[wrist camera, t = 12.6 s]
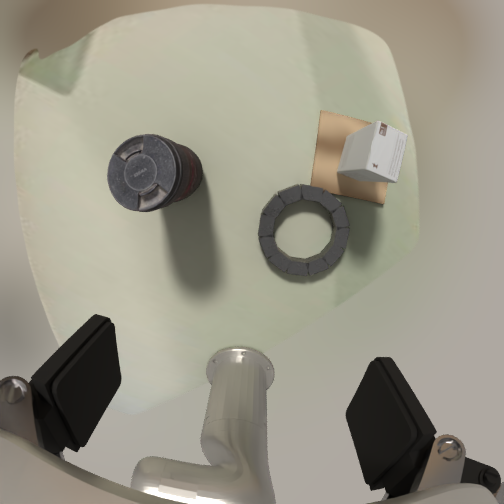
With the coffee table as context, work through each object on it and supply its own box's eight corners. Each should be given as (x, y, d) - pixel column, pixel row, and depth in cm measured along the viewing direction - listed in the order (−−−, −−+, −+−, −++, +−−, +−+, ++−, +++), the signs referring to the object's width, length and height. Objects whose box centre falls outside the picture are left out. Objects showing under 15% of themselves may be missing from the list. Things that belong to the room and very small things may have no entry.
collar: (334, 275, 42) (338, 279, 40) (253, 264, 42) (253, 268, 40) (351, 193, 38) (356, 194, 37) (265, 178, 38) (266, 178, 36)
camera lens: (217, 181, 39) (193, 185, 24) (172, 209, 40) (128, 229, 26) (190, 135, 37) (153, 116, 22) (146, 164, 38) (93, 163, 24)
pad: (382, 203, 39) (384, 204, 38) (309, 189, 39) (310, 189, 38) (392, 130, 35) (394, 130, 35) (320, 110, 35) (321, 110, 35)
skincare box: (361, 182, 37) (399, 186, 26) (334, 172, 37) (364, 172, 26) (371, 144, 36) (411, 135, 24) (344, 133, 35) (377, 119, 24)
